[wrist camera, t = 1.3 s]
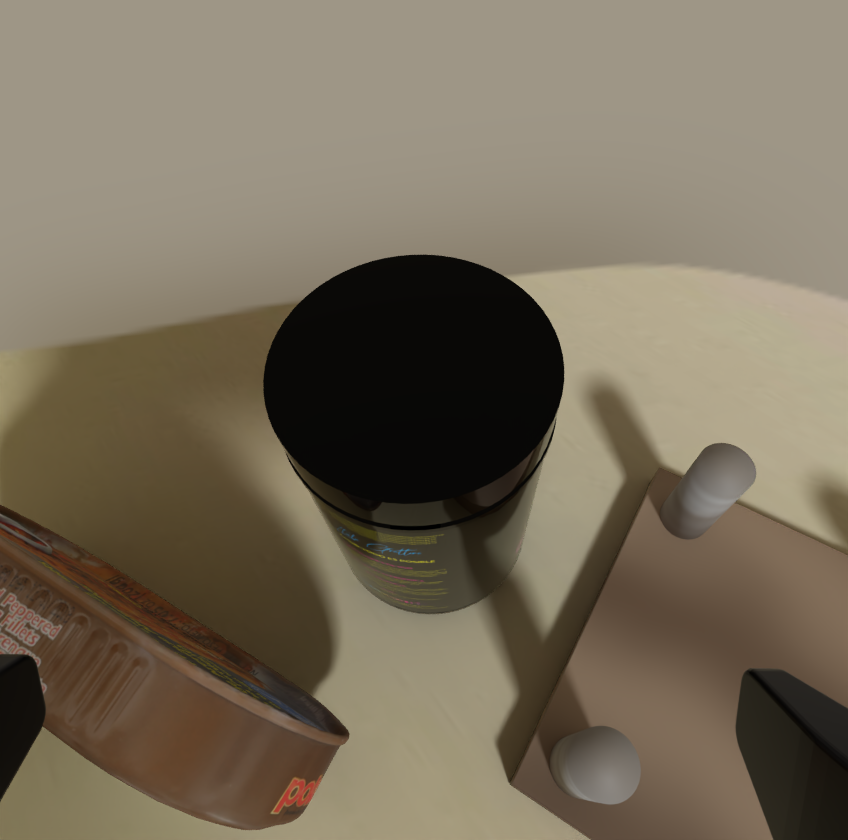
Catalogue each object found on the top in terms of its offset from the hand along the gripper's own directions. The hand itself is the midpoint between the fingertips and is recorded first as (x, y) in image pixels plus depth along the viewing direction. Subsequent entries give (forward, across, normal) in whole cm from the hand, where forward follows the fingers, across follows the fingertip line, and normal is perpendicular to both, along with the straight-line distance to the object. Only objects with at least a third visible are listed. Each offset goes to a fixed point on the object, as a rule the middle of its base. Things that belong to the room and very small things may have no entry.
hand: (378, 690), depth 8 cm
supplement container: (+14, 0, +5) cm, 15 cm away
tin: (+11, +9, +8) cm, 16 cm away
